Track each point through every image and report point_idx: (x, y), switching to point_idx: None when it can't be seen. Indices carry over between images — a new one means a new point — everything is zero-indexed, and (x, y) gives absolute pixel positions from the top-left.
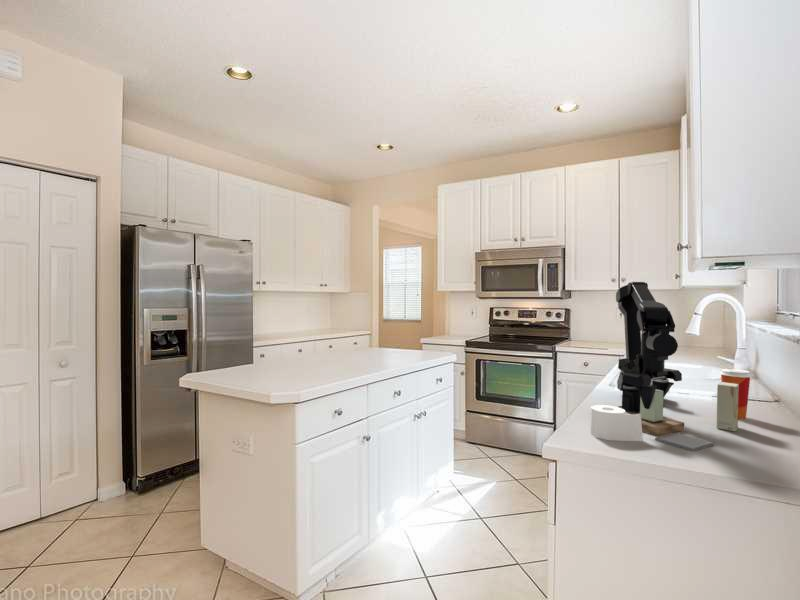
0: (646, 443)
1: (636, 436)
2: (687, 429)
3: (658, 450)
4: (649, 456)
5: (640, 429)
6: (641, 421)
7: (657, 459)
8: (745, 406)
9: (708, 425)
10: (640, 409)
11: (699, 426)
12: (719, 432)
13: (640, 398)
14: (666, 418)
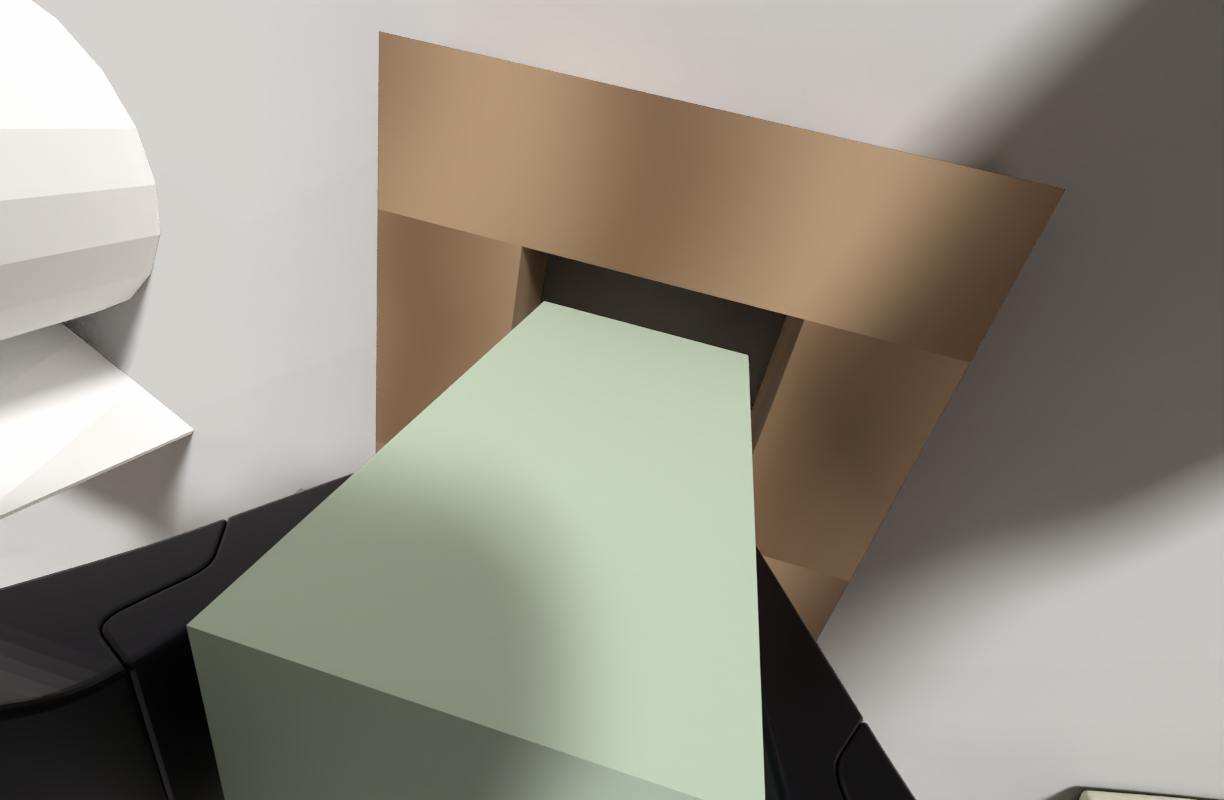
0: (173, 463)
1: (116, 412)
2: (848, 622)
3: (138, 542)
4: (12, 526)
5: (96, 461)
6: (461, 345)
7: (22, 562)
8: None
9: (1185, 742)
10: (498, 348)
11: (1070, 688)
12: (939, 788)
13: (391, 442)
14: (869, 519)
